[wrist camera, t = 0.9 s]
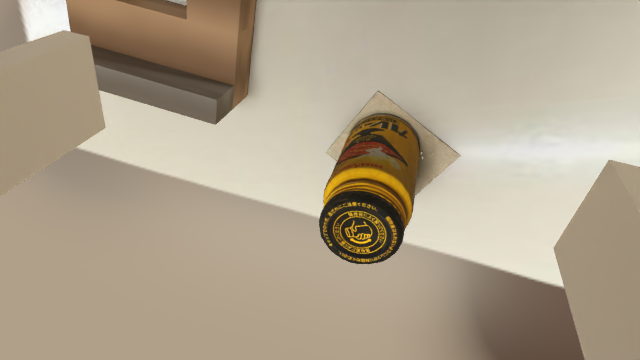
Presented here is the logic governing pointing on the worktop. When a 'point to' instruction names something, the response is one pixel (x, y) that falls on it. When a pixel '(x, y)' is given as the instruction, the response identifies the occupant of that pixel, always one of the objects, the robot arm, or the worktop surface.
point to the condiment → (378, 181)
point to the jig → (170, 51)
